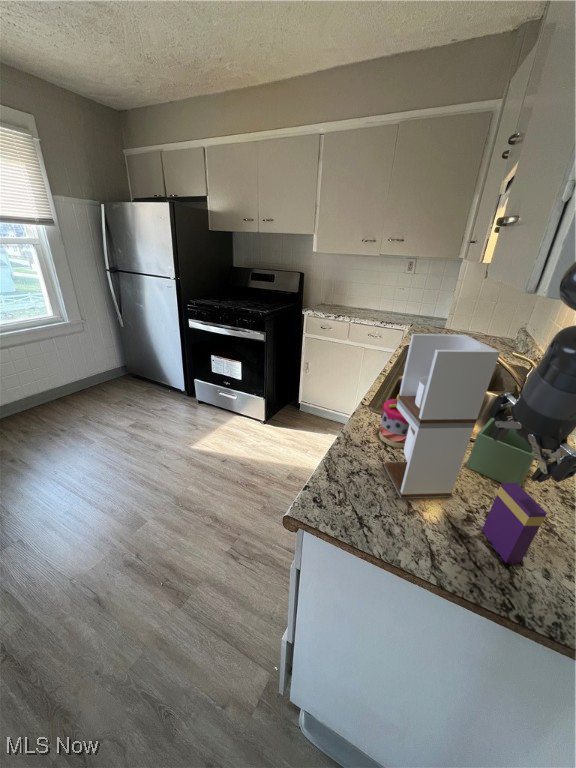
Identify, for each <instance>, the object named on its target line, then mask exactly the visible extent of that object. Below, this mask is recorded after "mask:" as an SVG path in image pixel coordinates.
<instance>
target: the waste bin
mask: <svg viewBox="0 0 576 768" xmlns="http://www.w3.org/2000/svg"><path fill="white" fill-rule="evenodd" d="M494 427H495V419H494V418H491V417H490V419H489V420H488V421H487V423H485V425H483V427H482V428H481V429H480V430H479V431H478V433H477V434H476V437H475V440H474V442H473V444H472V448H471V451H470V454H469V457H468V458H467V459H468V460H467V463H466V467H467V468H468V469H471V470H473V471H474V472H477V473H479V474H481V475H483V476H485V477H488V478H489V479H491V480H494V481H496V482H498V483H500V484H502V483H517V484H518V485H519V486H520V487H521V488H522V485H523V483H524V481H525V479H526V477H527V475H528V473H529V472H530V469H531V467H532V465H533V462H534V461H535V458H534V454H533V449H532V447H531V446H530V445H529V444H528V443H527V442H526V441H525V439H523V438H522V437H521V436H519V435H518V434H517V433H516V432H517V431H516V429H509V431H508V433H507V435H506V436H505V437H504V438H503V439H500V440H497V441H495V440H494V439H493V438H492V437H493V434H492V431H493V429H494Z"/></svg>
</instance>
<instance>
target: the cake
mask: <svg viewBox="0 0 576 768" xmlns="http://www.w3.org/2000/svg"><path fill="white" fill-rule="evenodd" d="M398 398H399V393H398V394H397V396H396V398H391V399H387V400H386V401H385V402H384V403H383V406H382V410H381V415H380V419H381V421H380V422H381V424H380V425H379V426H378V428H379V433H378V437H379V438H380V440H381V441H382V442H383V443H385V444H387V445H388V446H391V447H394V448H399V449H404V446H405V441H406V437H407V433H408V429H409V425H410V424H409V423H408V422H407V421H406V419H405V418H404V417H403V415H402V414H401V413H400V411H399V410H398V409H397V403H398Z"/></svg>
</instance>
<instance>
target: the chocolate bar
mask: <svg viewBox="0 0 576 768" xmlns="http://www.w3.org/2000/svg"><path fill="white" fill-rule="evenodd" d="M547 514H548V513H547V511H545V510H544V508H542V507H541V505H539V504H538V502H537V501H535V500H534V498H532V496H531V495H530V494H529V493H528V492H526V491H525V490H524V488H522V486H521V487H520V486H519V485H518V484H517V483H500V486H499V488H498V490H497V492H496V496H495V498H494V501H493V502H492V505H491V508H490V510H489V511H488V514H487V517H486V519H485V522H484V524H483V526H482V529H481V531H482V532H483V533H484V535H485V536H486V538H487V539H488V540H489V542H490V543H491V544H492V546H493V547H494V549H495V550H496V551H497V553H498V554H499V556H500V557H501V559H502V560H503V561H504V563H505V564H521V563H522V561H523V559H524V557H525V555H526V553H527V551H528V549H530V546H531V544H532V543H533V541H534V539H535V537H536V535H537V533H538V531H539V530H540V528H541V526H542V525H543V523H544V521H545V520H546V516H547Z"/></svg>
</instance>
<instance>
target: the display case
mask: <svg viewBox="0 0 576 768" xmlns="http://www.w3.org/2000/svg"><path fill="white" fill-rule="evenodd" d="M500 354H501V351H499V350H497V349H495V348H493V347H491V346H489V345H487V344H485V343H483V342H481V341H480V340H477V339H475V338H473V337H471V336H469V335H467V334H454V333H453V334H451V333H450V334H449V333H447V334H446V333H444V334H443V333H436V334H435V333H411V335H410V339H409V346H408V351H407V356H406V359H405V360H406V361H405V364H404V369H403V373H402V374H403V375H402V379H401V383H400V389H399V393H398V394H399V398H398V403H397V409H398V410H399V411H400V413H401V414H402V415H403V417H404V418H405V419H406V421H407V422H408V423H409V424H410V425H409V429H408V433H407V437H406V441H405V446H404V448H403V455H404V458H405V460H406V461H391V462H390V461H387V462H386V461H385V462H384V465H383V467H384V469H385V471H386V473H387V475H388V477H389V478H390V481H391V483H392V484H393V486H394V488H395V491H396V492H397V494H398V496H399V498H400V499H401V500H402V499H434V498H438V499H439V498H451V497H452V494H453V491H454V489H455V485H456V483H457V480H458V476H459V473H460V470H461V468H462V465H463V461H464V459H465V456H466V453H467V450H468V447H469V444H470V442H471V438H472V435H473V433H474V430H475V427H476V424H477V421H478V418H479V415H480V412H481V409H482V406H483V404H484V400H485V398H486V395H487V392H488V389H489V386H490V383H491V380H492V378H493V377H492V376H493V374H494V372H495V369H496V366H497V363H498V359H499V357H500Z"/></svg>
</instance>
